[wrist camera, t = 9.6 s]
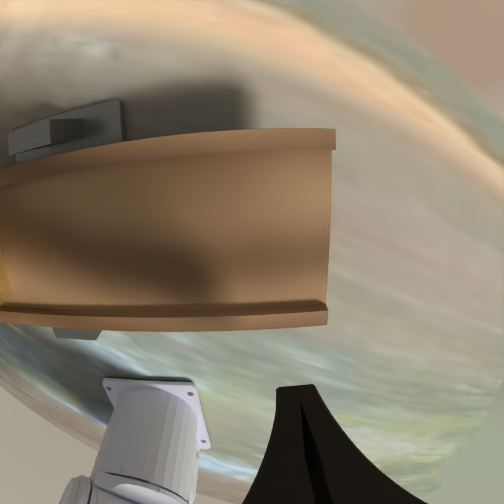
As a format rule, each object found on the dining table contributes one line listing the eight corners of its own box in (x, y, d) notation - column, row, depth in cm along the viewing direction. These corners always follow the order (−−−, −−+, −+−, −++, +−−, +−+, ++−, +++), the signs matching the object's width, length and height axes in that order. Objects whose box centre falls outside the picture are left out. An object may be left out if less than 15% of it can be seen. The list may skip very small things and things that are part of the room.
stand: (152, 312, 20) (136, 350, 16) (57, 310, 20) (31, 341, 16) (123, 100, 15) (91, 95, 11) (18, 128, 15) (-22, 134, 11)
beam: (309, 278, 19) (333, 343, 13) (-32, 284, 19) (-74, 321, 13) (310, 128, 15) (346, 129, 10) (-57, 189, 15) (-109, 212, 10)
